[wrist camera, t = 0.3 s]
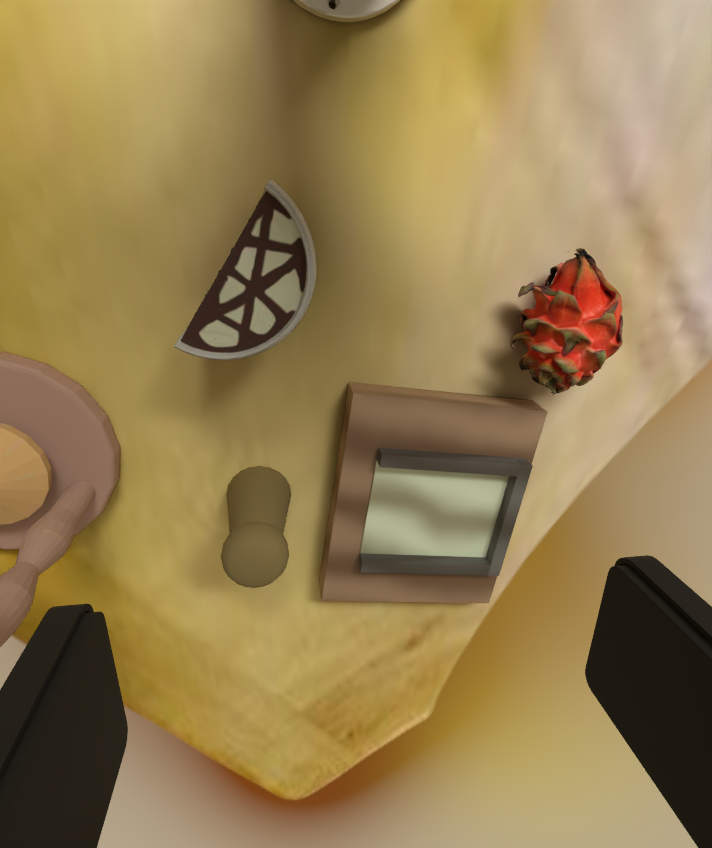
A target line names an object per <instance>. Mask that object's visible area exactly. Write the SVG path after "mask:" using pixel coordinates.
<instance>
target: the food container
mask: <svg viewBox="0 0 712 848" xmlns="http://www.w3.org/2000/svg"><path fill="white" fill-rule="evenodd" d="M315 281H316V254H315V247H314V243H313V240H312V236H311V233H310V230H309V228H308V226H307V223H306V221H305V219H304V217H303V215H302V213H301V212H300V210H299V209H298V207H297V206H296V204H295V203H294V201H293V200H292V199H291V198H290V197H289V196H288V194H287V193H286V192H285V191H284V190H283V189H282V188H281V187H280V186H279V185H278V184H276V183H275V182H274V181H273V180H272V179H270V180H269V181H268V183H267V185H265V189H264V193H263V197H262V198H261V199H260V201H259V203H258V205H257V206H256V209H255V211H254V213H253V214H252V216H251V218H250V219H249V221H248V223H247V225H246V227H245V228H244V230H243V232H242V234H241V235H240V237H239V239H238V241H237V243H236V244H235V246H234V248H232V250H231V252H230V255H229V257H228V258H227V260H226V262H225V264H224V265H223V267H222V269H221V270H219V273H218V276H217V278H216V279H215V281H214V283H213V285H212V286H211V288H210V290H209V291H208V293H207V294H206V295H205V298H204V300H203V302H202V303H201V305H200V307H199V308H198V310H197V312H196V313H195V315H194V317H193V319H192V321H191V322H190V324H189V326H188V327H187V328H186V330H185V331H184V333H183V334H182V335H181V337H180V338H179V340H178V341H177V342H176V344H175V345H174V347H175V348H177V349H179V350H181V351H183V352H186V353H188V354H191V355H195V356H198V357H201V358H207V359H213V360H234V359H242V358H246V357H250V356H253V355H256V354H259V353H261V352H263V351H265V350H267V349H269V348H271V347H273V346H274V345H276V344H277V343H279V342H280V341H282V340H283V339H284V338H285V337H287V336H288V335H289V334H290V333H291V332H292V331H293V330H294V329H295V327H296V326H297V325H298V323H299V322H300V321H301V319H302V318H303V316H304V314H305V312H306V310H307V308H308V307H309V304H310V301H311V298H312V295H313V292H314V287H315Z"/></svg>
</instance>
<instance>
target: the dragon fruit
mask: <svg viewBox="0 0 712 848" xmlns="http://www.w3.org/2000/svg"><path fill="white" fill-rule="evenodd" d="M576 250H577V252H578V253H576V254H575V255H576V257H575V258H574V259H570V260H568V261H566V262H565V263H561V264H559V265H557V266H555V267H553V268H551V270H550V273H551V274H550V275H549V276H548V278H547V280H546V281H545V285H542V286H541V287H540V286H536V285H534V283H530V284H528V285H527V286H526V287H525V286H522V287H521V289H520V291H519V294H518V297H520V296H522V295H525V294H526V293H528V292H529V291H531V290H532V291H533V293H534V296H535V299H536V306H535V309H532V310H530V309H524V310H523V311H522V312H521V313H520V314H519V319H520V325H521V327H522V328H523V329H524V330H525V332H522V333H518V334H516V335H515V336H514V337H513V338H512V340H511V342H510V346H511V347H512V348H513V349H514V350H517V349H516V347H515V346H513V343H514V342H515V341H521V342H523V343H525V344H526V345H527V347H528V350H529V351H528V352H527V353H526V354H524V355H523V356H522V357H521V359H520V363H519V366H520V368H521V369H522V371H523V370H525V369H530V374H531V376H532V379H533V380H534V381H535V382H537V383H539V384H541V385H545V386H546V387H547V388H549V389H550V390H551V391H552V392H551V393H554V394H555V393H560V392H563V391H566V390H568V389H569V388H570V386H571V387H572V386H574V385H578V386H581V385H584V384H586V383H587V382H589V380H591V379H592V378H593V376H594V375H593V373H595V372H596V371H598V370H599V369H601V367H602V365H603V363H604V361H605V360H606V359H607V358H608V357H610V356H612V355H613V354H614V353H615V352H616V351H617V350H618V349H619V347H620V346H621V345H622V326H623V318H622V315H621V312H622V300H621V295H620V294H619V292H618V291H617V290H616V289H615V288H614V287H613V286H612V285H610V284H609V283H608V282H607V280H606V279H605V277H604V275H603V274H602V272H601V270H600V269H599V268H598V267H597V266H596V263H595V260H594V259H593V258H592V257H591V256H590V255H588V254H587V252H586V251H585V250H584V249H581V248H580V249H576ZM556 272H557V274H556ZM555 274H556V276H555ZM554 277H555V278H554ZM553 279H554V281H553ZM548 281H549V285H550V284H551V282H552V281H553V284H552V285H551V287H550V288H548V287H546V285H547V282H548ZM533 285H534V286H533ZM527 318H528V320H526V319H527Z"/></svg>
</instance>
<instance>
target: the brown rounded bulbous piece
mask: <svg viewBox="0 0 712 848" xmlns="http://www.w3.org/2000/svg"><path fill="white" fill-rule="evenodd" d="M290 497H291V491H290V485H289V484H288V482H287V480H286V478H285V477H284V476H283V475H282V474H280V473H279V472H278V471H276V470H273V469H271V468H268V467H261V466H258V467H250V468H247V469H245V470H243V471H240V472H239V473H238V474H237V475H236V476H234V477H233V478H232V480H231V482H230V484H229V485H228V490H227V504H228V516H229V529H230V534H229V536H228V537H227V539H226V541H225V542H224V544H223V549H222V555H221V559H222V563H223V568H224V570H225V572H226V573H227V575H228V576H229V577H230V578H231V579H232V580H233V581H235V582H236V583H237V584H239V585H242V586H245V587H253V588H256V587H262V586H265V585H268V584H270V583H272V582H273V581H274V580H276V579H277V578H278V577H279V576H280V575H281V574H282V573H283V571H284V569H285V568H286V565H287V561H288V557H289V551H288V544H287V541H286V539H285V538H284V536H283V531H284V527H285V522H286V517H287V512H288V507H289V502H290Z"/></svg>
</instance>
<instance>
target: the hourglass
mask: <svg viewBox="0 0 712 848" xmlns="http://www.w3.org/2000/svg"><path fill="white" fill-rule="evenodd" d="M119 475H120V445H119V443H118V440H117V438H116V435H115V432H114V430H113V427H112V425H111V422H110V420H109V417H108V415H107V414H106V413H105V411H104V410H103V409H102V408H101V407H100V406H99V405H98V403H97V402H96V401H95V400H94V399H93V398H92V396H91V395H90V394H89V393H88V392H87V391H86V389H85V388H84V387H83V386H81V385H80V384H78V383H77V382H75V381H73V380H72V379H70V378H69V377H67V376H65V375H64V374H62V373H61V372H59V371H57V370H56V369H54V368H53V367H51V366H50V365H48V364H45V363H42V362H38V361H35V360H31V359H28V358H24V357H20V356H17V355H13V354H10V353H6V352H0V548H2V549H7V550H8V549H19V552H18V556H17V560H16V564H15V566H14V567H12V568H11V569H9V570H8V571H7V572H5V573H4V574H2V575H1V576H0V647H1V646H2V645H3V644H4V643H5V642H6V641H7V640H8V638H9V637H10V636H11V635H12V634H13V633H14V632H15V631H16V629H17V628H18V627H19V626H20V625H21V623H22V622H23V620H24V618H25V617H26V615H27V614H28V612H29V610H30V608H31V606H32V603H33V598H34V594H35V589H36V584H37V580H38V576H39V575H40V574H41V573H42V572H44V571H45V570H46V569H48V568H49V567H50V566H52V565H53V564H54V563H55V562H56V561H58V560H59V559H60V558H61V557H62V556H64V554H65V553H66V551H67V549H68V548H69V546H70V544H71V542H72V540H73V537H74V536H75V535H77V534H78V533H79V532H80V531H82V530H83V529H84V528H85V527H86V526H87V525H89V524H90V523H91V522H92V521H93V520H94V519H96V518H97V517H98V516H99V515H100V514H101V513H102V512H103V510H104V509H105V507H106V505H107V503H108V501H109V499H110V497H111V495H112V493H113V491H114V488H115V486H116V484H117V482H118V480H119Z"/></svg>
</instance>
